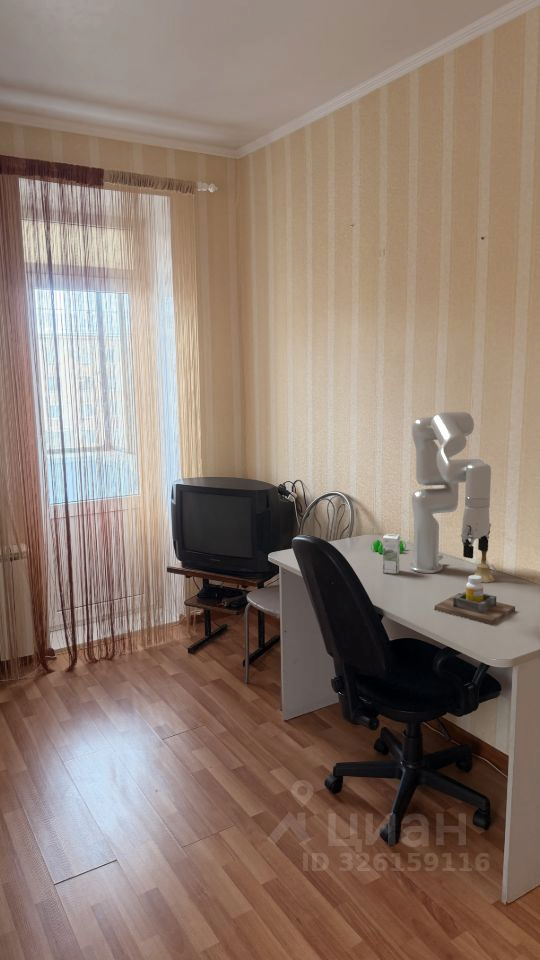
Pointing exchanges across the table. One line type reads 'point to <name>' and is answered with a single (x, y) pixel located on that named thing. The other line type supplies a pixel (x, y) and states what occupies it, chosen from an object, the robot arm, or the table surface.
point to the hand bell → (484, 570)
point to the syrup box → (391, 553)
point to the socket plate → (476, 608)
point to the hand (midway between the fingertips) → (475, 554)
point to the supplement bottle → (474, 589)
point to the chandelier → (380, 547)
